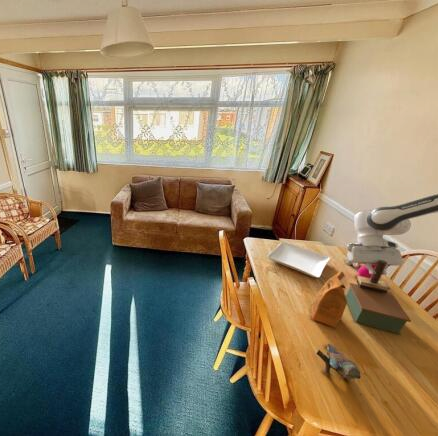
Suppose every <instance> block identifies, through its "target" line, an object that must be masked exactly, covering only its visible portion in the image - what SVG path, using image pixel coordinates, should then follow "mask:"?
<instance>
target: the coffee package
mask: <svg viewBox="0 0 438 436" xmlns="http://www.w3.org/2000/svg"><path fill="white" fill-rule="evenodd" d="M345 276H346V275H345V273H344V271H341V270H340V271H338V273H336V274H335V275H333V276H332V277H330V278H329V279H328V280H327V281H326V282H324V284H323V286H322V287H321V288H320V289H319V291H318V293H317V294H316V296H315V298H314V300H313V302H312V305H311V307H310V310H311V311H310V313H311V318H312V320H313V321H316V322H319V323H322V324H325V325H327V326H330V327H334V328H336V326H337V325H338V322H339V321H340V320H341V319H342V318H343V315H344V312H345V310H346V307H347V304H348V303H347V300H346V297H345V296H346V294H345V290H344V289H346V285H344V283H343V282H342V281H341V280H342V279H343V278H345Z"/></svg>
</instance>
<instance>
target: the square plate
mask: <svg viewBox="0 0 438 436" xmlns="http://www.w3.org/2000/svg"><path fill="white" fill-rule="evenodd" d="M266 257H267V258H268V259H269V260H271V261H273V262H274V263H277V264H280V265H283V266H285V267H287V268H289V269H292V270H294V271H297V272H300V273H302V274H304V275H307V276H309V277H312V278H321V276H322V274H323V272H324V269H325V267H327V266H326V265H327V264H328V263H329V262H330V260H331V257H330V256H328V255H325V254H323V253H320V252H317V251H314V250H312V249H309V248H305V247H303V246H299V245H297V244H294V243H291V242H287V241H281V242H280V243H279V244H278V245H277V246H276V247H275V248H274V249H273V250H272V251H271V252H269V254H268V255H267V256H266Z"/></svg>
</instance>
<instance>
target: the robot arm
mask: <svg viewBox="0 0 438 436" xmlns="http://www.w3.org/2000/svg"><path fill="white" fill-rule="evenodd" d="M436 213H438V194H433V195H430V196H426V197H423V198H419V199H416V200H412V201H407V202H406V203H402V204H398V205H393V206H380V207H379V206H378V207H376V208H373V209H366V210H365V209H364V210H361V211H359V212H357V213H356V214H355V215H354V217H353V225H354V230H355V232H356V235H357V236H356V240H357V242H355V243H354V242H350V243H349V244H347V246H346V247H347V254H348V259H349V261H350V262H351V263H361V264H364V265H365V267H366V268H367V269H368V270H369V273H370V274H376V270H373V268H372V267H371V266H372V264H375V265H377V263H378V261H379V260H383V261H386V262H387V265H386V267H385V269H384V271H383V273H382V275H381V276H386V275H387V270H388V268H389V266H392V267H399V266H403V264H404V260H403V257H402V253H401V251H400V250H399V249H398V248H399V244H398V243H396V242H394V241H390V240H388V239H385V238H384V237H383V236H399V235H403V234H405V233H408V231H409V230H410V229H411V226H412V223H411V219H415V218H419V217H422V216H426V215H429V214H430V215H431V214H436ZM361 264H360V265H361Z"/></svg>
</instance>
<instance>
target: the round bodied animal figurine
mask: <svg viewBox="0 0 438 436" xmlns="http://www.w3.org/2000/svg"><path fill="white" fill-rule="evenodd" d="M344 261H346V262H345V264H347V265H348V266H352V267H353V268H356V269H357V268H358V269H359V268H360V266H361V263H351V262H350V261H349V259H348V253H347V254H346V258H345V260H344Z"/></svg>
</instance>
